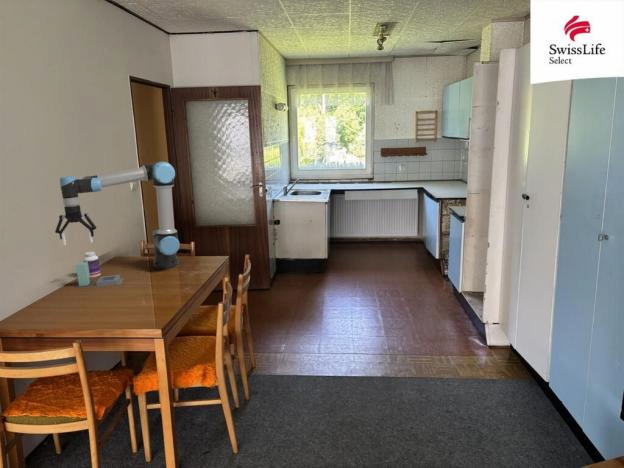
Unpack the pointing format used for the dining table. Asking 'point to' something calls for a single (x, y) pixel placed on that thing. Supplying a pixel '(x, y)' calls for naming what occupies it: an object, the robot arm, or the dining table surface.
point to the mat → (85, 285)
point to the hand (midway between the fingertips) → (78, 243)
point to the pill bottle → (92, 264)
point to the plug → (82, 274)
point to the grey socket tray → (108, 281)
